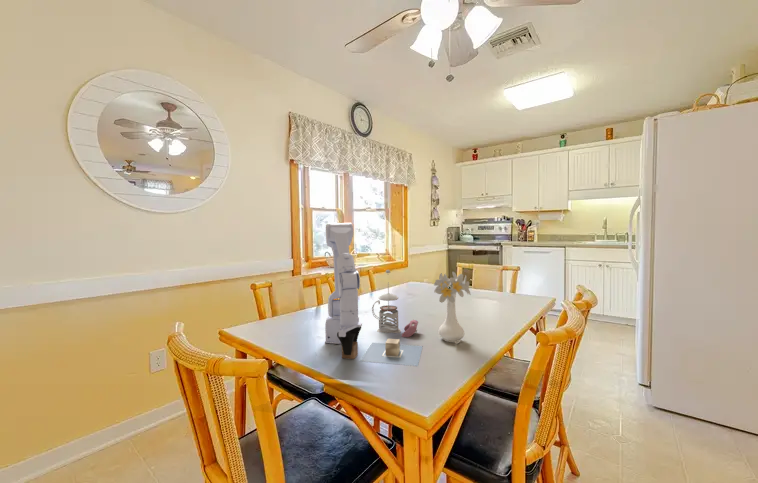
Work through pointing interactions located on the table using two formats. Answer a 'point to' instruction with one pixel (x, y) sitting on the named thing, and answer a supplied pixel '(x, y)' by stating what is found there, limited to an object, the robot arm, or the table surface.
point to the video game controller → (410, 328)
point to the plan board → (405, 357)
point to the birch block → (392, 347)
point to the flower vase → (451, 305)
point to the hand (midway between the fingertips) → (349, 351)
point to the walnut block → (354, 351)
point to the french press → (387, 314)
